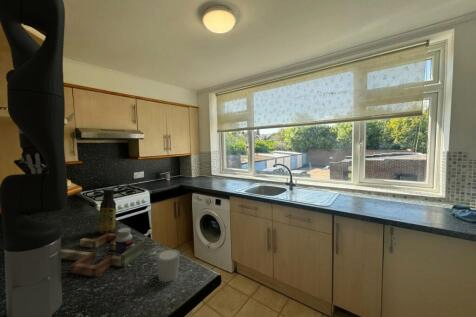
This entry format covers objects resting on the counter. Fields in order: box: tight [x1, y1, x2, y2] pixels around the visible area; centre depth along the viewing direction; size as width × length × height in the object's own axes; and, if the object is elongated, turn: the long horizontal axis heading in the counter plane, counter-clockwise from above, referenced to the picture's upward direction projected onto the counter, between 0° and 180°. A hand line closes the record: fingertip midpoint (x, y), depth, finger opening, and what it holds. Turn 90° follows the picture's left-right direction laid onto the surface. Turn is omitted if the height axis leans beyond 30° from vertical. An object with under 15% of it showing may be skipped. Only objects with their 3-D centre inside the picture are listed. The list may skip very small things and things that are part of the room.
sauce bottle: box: [98, 187, 117, 235], centre depth 91 cm, size 6×6×20 cm
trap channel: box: [61, 233, 144, 278], centre depth 73 cm, size 26×22×4 cm
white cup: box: [156, 248, 181, 283], centre depth 63 cm, size 7×7×7 cm
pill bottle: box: [114, 227, 134, 256], centre depth 72 cm, size 5×5×10 cm
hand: (41, 186), depth 64 cm, fingers closed
